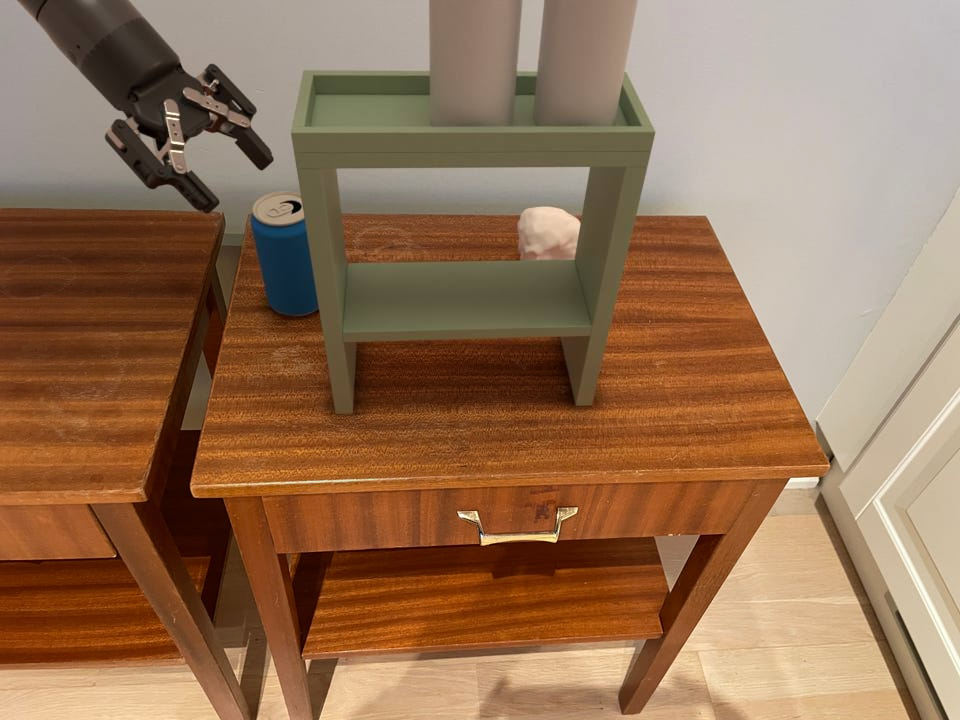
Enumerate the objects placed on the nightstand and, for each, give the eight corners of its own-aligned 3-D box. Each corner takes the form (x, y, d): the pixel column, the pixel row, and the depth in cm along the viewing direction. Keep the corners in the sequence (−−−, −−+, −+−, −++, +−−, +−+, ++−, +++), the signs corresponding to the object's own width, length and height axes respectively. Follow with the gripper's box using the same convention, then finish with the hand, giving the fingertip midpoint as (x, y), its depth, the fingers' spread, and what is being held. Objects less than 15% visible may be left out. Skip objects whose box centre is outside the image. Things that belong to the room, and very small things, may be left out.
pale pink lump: (518, 193, 79) (622, 198, 81) (505, 255, 85) (603, 259, 87) (528, 227, 75) (638, 232, 77) (514, 290, 81) (616, 293, 83)
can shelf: (296, 169, 49) (262, -44, 40) (308, 104, 56) (281, -93, 46) (647, 166, 51) (695, -36, 42) (620, 104, 58) (655, -84, 48)
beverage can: (341, 303, 79) (329, 210, 70) (288, 329, 76) (269, 235, 67) (309, 273, 82) (294, 181, 73) (257, 297, 79) (235, 203, 70)
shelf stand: (335, 414, 68) (296, 169, 49) (340, 345, 74) (308, 104, 56) (591, 405, 70) (647, 166, 51) (575, 338, 76) (620, 104, 58)
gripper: (61, 49, 58) (211, 208, 63) (180, -8, 67) (303, 135, 73) (37, 97, 63) (178, 240, 69) (150, 38, 72) (267, 168, 78)
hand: (242, 186), depth 71 cm, fingers open, 8 cm apart
